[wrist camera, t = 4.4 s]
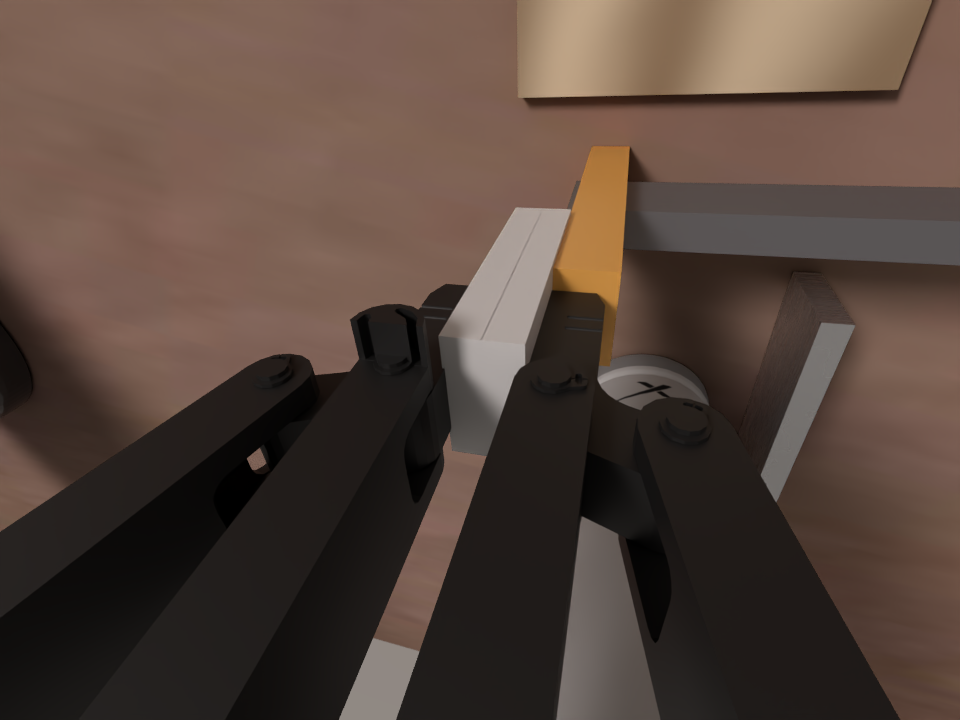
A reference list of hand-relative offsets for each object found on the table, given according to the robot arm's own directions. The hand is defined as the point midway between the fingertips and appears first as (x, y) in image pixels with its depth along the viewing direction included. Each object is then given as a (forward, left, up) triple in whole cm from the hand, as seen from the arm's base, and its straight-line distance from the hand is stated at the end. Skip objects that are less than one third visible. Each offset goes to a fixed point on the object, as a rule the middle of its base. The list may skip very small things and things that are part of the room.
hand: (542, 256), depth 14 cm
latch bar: (+7, 0, -8) cm, 10 cm away
